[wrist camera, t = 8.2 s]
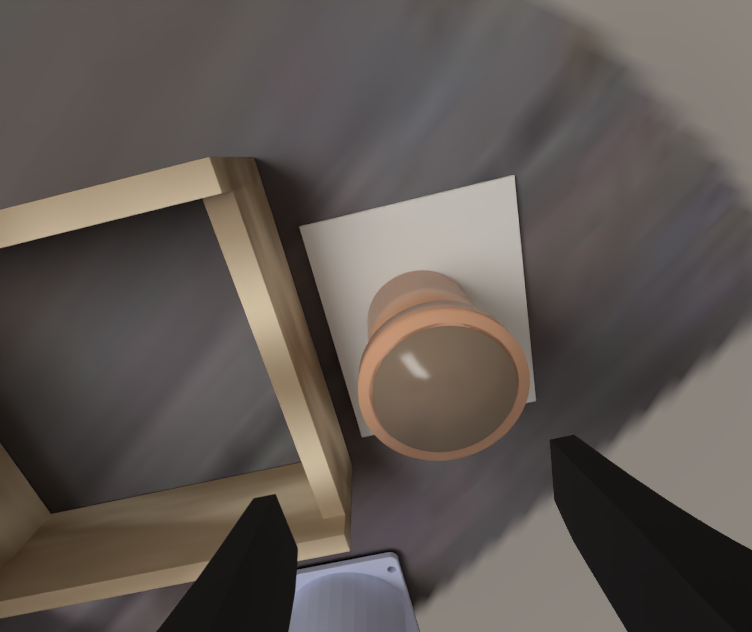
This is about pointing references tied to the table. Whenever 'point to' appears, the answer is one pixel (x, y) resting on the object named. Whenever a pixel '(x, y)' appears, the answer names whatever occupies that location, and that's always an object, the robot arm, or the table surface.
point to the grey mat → (420, 263)
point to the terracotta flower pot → (438, 370)
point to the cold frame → (199, 501)
